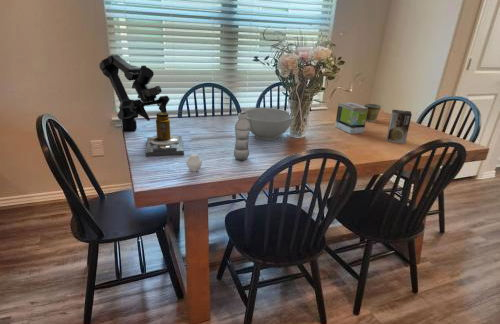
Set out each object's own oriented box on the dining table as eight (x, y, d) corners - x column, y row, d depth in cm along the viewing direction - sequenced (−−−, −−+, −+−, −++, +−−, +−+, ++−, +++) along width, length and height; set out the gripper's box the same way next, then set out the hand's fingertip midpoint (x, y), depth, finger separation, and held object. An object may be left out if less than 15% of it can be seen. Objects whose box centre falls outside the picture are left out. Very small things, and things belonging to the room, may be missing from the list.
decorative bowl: (233, 140, 163) (233, 116, 158) (251, 126, 186) (252, 105, 182) (284, 148, 155) (287, 124, 150) (297, 133, 178) (299, 111, 173)
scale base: (146, 156, 138) (145, 149, 137) (147, 141, 156) (147, 134, 155) (184, 154, 142) (183, 147, 141) (181, 140, 160) (181, 133, 159)
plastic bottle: (233, 155, 143) (234, 111, 136) (248, 156, 144) (250, 112, 136) (233, 161, 138) (234, 115, 130) (249, 161, 138) (251, 116, 130)
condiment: (173, 137, 154) (172, 112, 149) (166, 142, 146) (165, 117, 141) (159, 135, 154) (157, 111, 150) (151, 141, 147) (149, 115, 142)
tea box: (364, 133, 184) (369, 107, 178) (349, 134, 180) (353, 108, 174) (348, 125, 196) (352, 101, 191) (334, 126, 193) (337, 102, 187)
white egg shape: (187, 167, 130) (187, 150, 128) (202, 167, 131) (202, 151, 128) (185, 173, 125) (184, 156, 122) (201, 173, 125) (201, 157, 122)
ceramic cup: (380, 123, 204) (383, 107, 200) (364, 122, 204) (367, 106, 200) (373, 117, 216) (376, 103, 212) (358, 117, 216) (361, 102, 212)
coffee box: (404, 140, 174) (411, 111, 168) (405, 144, 168) (412, 113, 162) (386, 138, 177) (392, 109, 170) (386, 141, 171) (393, 111, 165)
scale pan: (149, 146, 144) (149, 144, 143) (150, 137, 155) (150, 135, 155) (179, 145, 147) (179, 143, 146) (178, 136, 158) (178, 134, 158)
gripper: (129, 82, 140) (145, 112, 137) (166, 78, 153) (181, 106, 150) (122, 97, 148) (137, 125, 145) (157, 92, 161) (172, 118, 158)
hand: (158, 118), depth 150 cm, fingers open, 9 cm apart
